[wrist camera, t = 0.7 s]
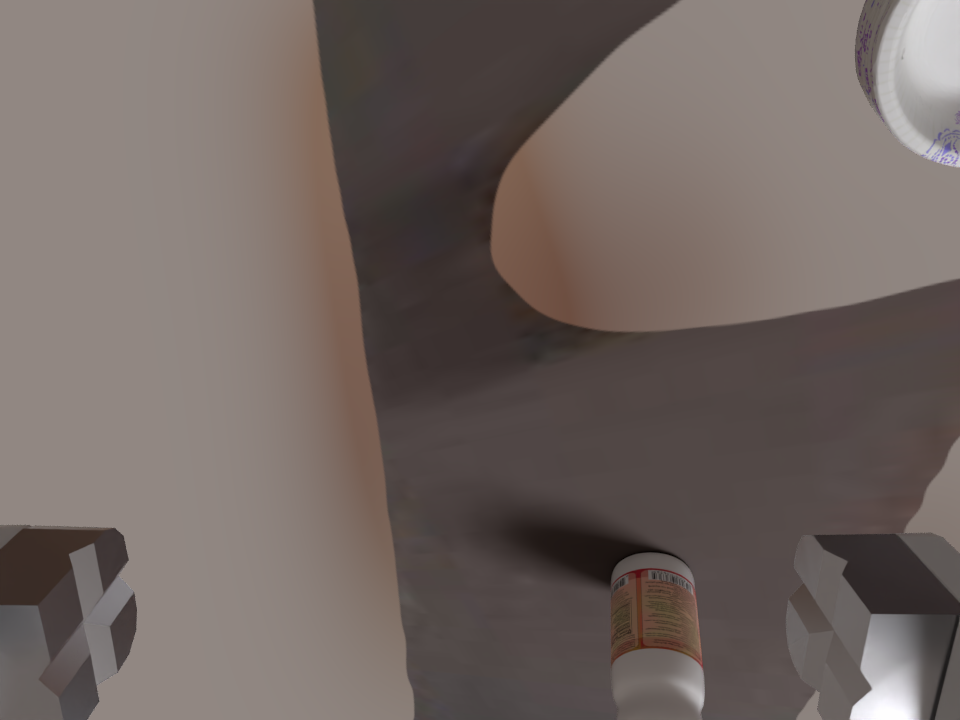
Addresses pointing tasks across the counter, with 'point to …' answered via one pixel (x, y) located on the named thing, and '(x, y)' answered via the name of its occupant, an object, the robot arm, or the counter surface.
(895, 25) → the paper bowls
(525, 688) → the counter surface
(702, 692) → the fruit juice
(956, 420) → the counter surface
